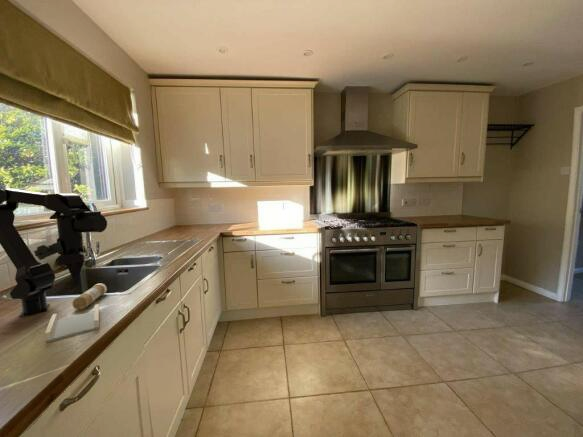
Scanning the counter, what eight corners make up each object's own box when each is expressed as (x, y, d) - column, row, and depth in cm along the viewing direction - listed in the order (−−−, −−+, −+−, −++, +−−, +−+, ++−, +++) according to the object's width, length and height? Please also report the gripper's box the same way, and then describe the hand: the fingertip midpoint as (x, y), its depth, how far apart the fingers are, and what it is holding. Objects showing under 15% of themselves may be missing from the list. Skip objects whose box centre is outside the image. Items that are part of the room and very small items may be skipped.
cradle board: (53, 322, 75) (52, 314, 75) (99, 311, 81) (98, 304, 81) (45, 342, 65) (44, 333, 64) (99, 328, 71) (98, 319, 71)
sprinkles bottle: (82, 312, 83) (102, 296, 96) (90, 301, 83) (109, 286, 96) (68, 306, 82) (91, 290, 95) (76, 294, 82) (98, 280, 95)
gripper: (40, 232, 82) (45, 277, 84) (28, 239, 68) (35, 295, 69) (83, 228, 89) (88, 271, 91) (81, 235, 75) (86, 285, 76)
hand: (75, 279), depth 82 cm, fingers closed
